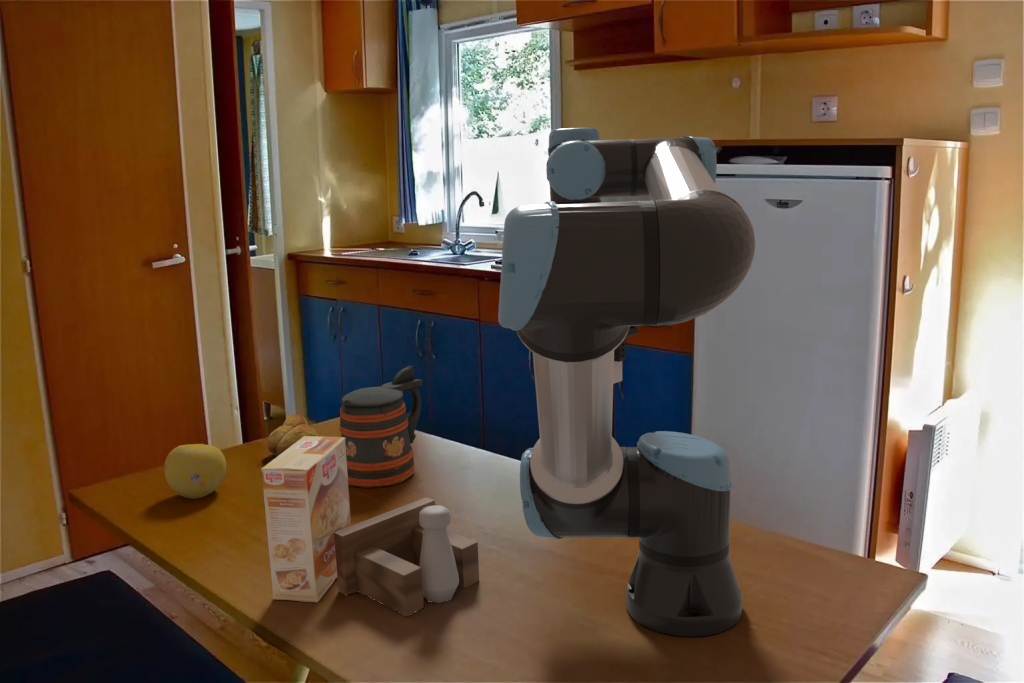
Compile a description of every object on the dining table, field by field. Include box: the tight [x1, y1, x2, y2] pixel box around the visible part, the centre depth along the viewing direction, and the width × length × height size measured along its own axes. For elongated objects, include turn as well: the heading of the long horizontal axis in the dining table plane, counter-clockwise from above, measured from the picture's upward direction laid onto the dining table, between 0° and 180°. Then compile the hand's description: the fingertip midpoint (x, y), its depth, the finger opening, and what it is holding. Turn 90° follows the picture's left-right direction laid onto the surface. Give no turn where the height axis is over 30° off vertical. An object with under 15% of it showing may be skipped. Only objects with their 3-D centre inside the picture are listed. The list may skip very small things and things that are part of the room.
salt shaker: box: [419, 504, 459, 604], centre depth 122 cm, size 6×6×13 cm
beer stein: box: [339, 365, 423, 489], centre depth 172 cm, size 19×15×20 cm
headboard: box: [334, 496, 480, 617], centre depth 126 cm, size 13×17×9 cm
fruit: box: [163, 443, 227, 500], centre depth 164 cm, size 10×11×10 cm
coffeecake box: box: [260, 435, 352, 603], centre depth 129 cm, size 15×7×20 cm, turn 170°
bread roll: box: [267, 412, 319, 457], centre depth 185 cm, size 13×10×8 cm
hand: (579, 376), depth 135 cm, fingers open, 13 cm apart
